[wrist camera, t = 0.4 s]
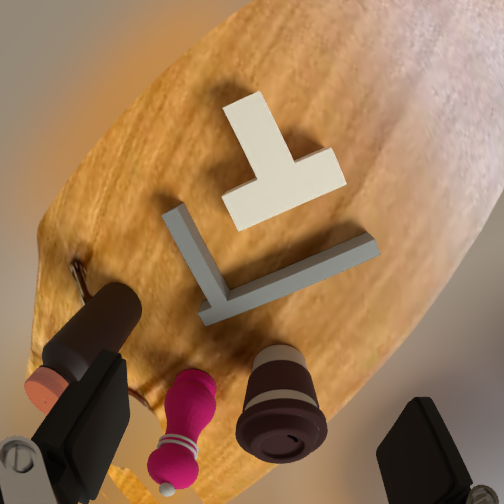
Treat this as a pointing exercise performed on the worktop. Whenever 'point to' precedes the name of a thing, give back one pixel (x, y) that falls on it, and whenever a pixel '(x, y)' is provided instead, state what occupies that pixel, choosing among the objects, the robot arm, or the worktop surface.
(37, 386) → the bottle
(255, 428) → the coffee cup
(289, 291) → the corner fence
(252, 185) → the t block
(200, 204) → the worktop surface
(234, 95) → the worktop surface
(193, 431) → the pepper mill
